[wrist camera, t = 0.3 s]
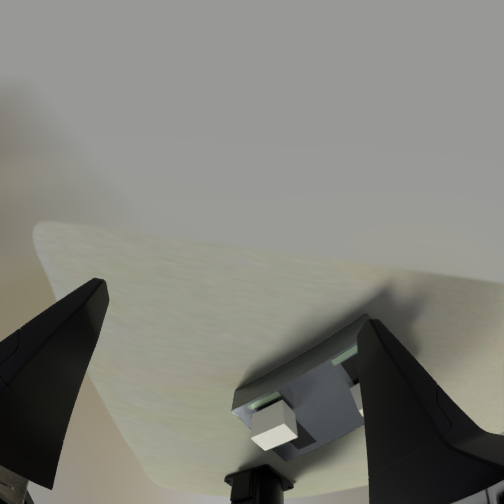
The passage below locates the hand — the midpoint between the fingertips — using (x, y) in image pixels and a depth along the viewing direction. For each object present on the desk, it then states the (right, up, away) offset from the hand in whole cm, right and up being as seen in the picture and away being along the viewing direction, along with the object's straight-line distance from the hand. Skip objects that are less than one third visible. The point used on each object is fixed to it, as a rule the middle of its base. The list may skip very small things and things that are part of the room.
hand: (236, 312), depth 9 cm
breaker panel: (+7, -11, +16) cm, 20 cm away
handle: (+2, -12, +13) cm, 17 cm away
